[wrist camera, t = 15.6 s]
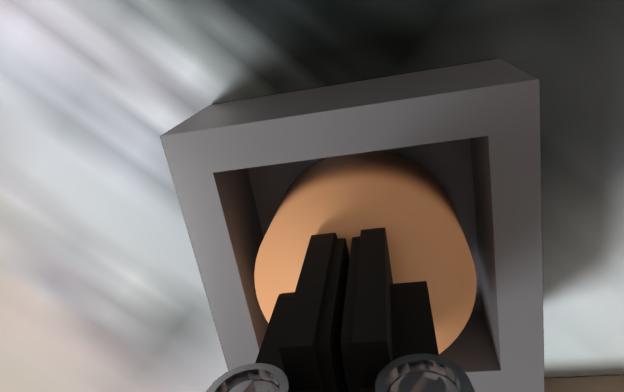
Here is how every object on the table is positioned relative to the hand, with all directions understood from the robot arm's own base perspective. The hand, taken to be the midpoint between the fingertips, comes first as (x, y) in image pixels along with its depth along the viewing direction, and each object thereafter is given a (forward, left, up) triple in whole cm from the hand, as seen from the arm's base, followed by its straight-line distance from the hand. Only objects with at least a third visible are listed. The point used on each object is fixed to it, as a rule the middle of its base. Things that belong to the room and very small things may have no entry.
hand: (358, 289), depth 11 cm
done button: (0, 0, -3) cm, 3 cm away
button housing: (0, 0, -4) cm, 4 cm away
